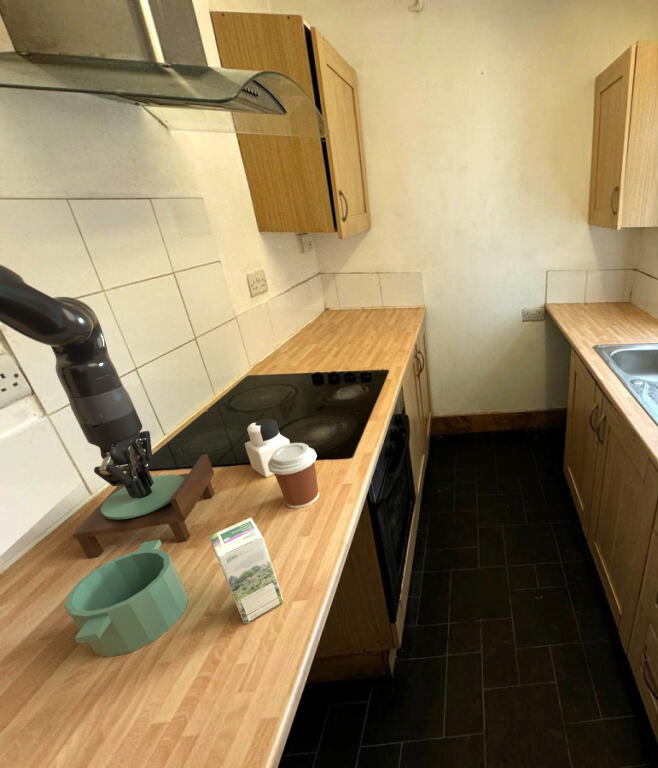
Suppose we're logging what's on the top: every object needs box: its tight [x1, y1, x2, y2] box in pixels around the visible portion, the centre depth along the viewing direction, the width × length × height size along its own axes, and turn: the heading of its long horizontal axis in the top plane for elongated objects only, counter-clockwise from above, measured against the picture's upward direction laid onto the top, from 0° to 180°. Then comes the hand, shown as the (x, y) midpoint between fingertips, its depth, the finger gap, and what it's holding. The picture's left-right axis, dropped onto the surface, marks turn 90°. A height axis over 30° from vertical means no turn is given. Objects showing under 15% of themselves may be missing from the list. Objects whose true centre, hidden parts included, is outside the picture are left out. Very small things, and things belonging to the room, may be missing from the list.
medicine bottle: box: [244, 418, 291, 478], centre depth 99 cm, size 7×7×12 cm
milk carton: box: [208, 517, 284, 625], centre depth 64 cm, size 6×6×14 cm
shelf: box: [71, 453, 215, 560], centre depth 82 cm, size 17×15×10 cm
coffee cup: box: [267, 442, 320, 509], centre depth 88 cm, size 9×9×12 cm
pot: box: [64, 539, 189, 657], centre depth 63 cm, size 12×17×8 cm
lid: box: [101, 467, 184, 520], centre depth 80 cm, size 13×13×7 cm
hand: (142, 491), depth 80 cm, fingers closed on lid, 2 cm apart
